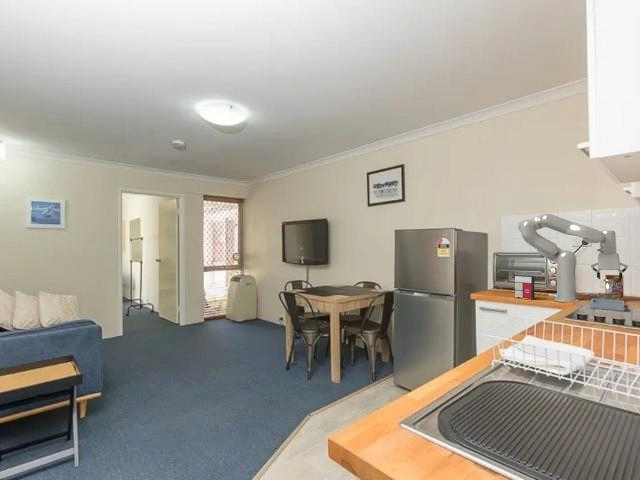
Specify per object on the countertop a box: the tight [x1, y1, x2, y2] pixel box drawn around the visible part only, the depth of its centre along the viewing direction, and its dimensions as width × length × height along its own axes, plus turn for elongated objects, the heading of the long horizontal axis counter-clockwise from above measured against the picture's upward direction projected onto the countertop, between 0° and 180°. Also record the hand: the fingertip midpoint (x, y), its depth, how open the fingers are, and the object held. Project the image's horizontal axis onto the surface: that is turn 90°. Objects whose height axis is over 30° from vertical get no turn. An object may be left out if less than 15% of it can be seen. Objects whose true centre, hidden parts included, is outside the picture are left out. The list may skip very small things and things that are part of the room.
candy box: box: [604, 274, 625, 299], centre depth 224 cm, size 9×4×15 cm, turn 56°
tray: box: [589, 298, 625, 313], centre depth 193 cm, size 14×18×4 cm
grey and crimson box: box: [513, 274, 536, 300], centre depth 226 cm, size 11×4×15 cm, turn 37°
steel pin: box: [603, 278, 613, 295], centre depth 208 cm, size 5×5×13 cm
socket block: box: [597, 292, 621, 300], centre depth 208 cm, size 10×10×5 cm
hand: (609, 279), depth 207 cm, fingers open, 9 cm apart
